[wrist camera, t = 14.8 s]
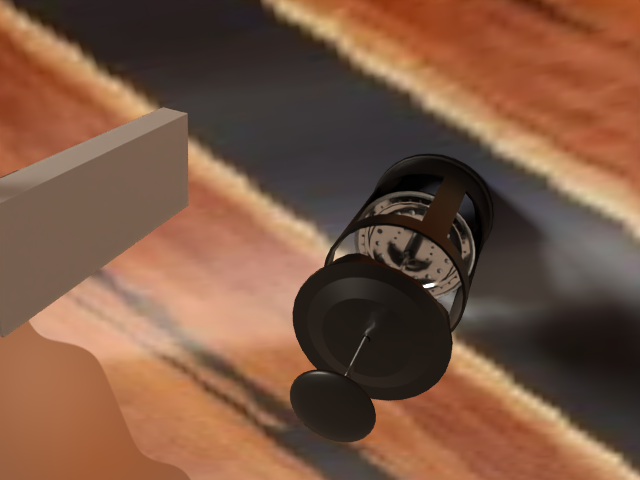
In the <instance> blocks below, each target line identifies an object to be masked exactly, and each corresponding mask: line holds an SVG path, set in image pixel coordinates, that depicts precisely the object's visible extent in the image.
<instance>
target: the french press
mask: <svg viewBox="0 0 640 480" xmlns="http://www.w3.org/2000/svg"><path fill="white" fill-rule="evenodd" d="M413 174H427V175H433V176H437V177H440V178H443V181H442V183H441V185H440V187H439V189H438V191H437V193H436V195H433V194H430V193H426V192H419V191H401V192H395V193H391V192H392V190H393V188H394V187H395V186H396V185H397V184H398V183H399V182H400V181H401V180H403V179H404V178H406V177H408V176H410V175H413ZM465 193H466V195H467V196H468V197H469V198H470V199H471V200H472V203H473V206H474V209H475V223H474V227H473V230H472V232H471V231H470V229H469V227H468V226H467V224H466V222H465V220H464V218H463V217H462V215H461V214H460V213H459V211H458V209H459V207H460V205H461V202H462V200H463V197H464V195H465ZM493 216H494V213H493V203H492V200H491V197H490V193H489V191H488V189H487V188H486V186H485V184H484V182H483V181H482V180H481V179H480V177H479V176H478V175H477V174H476V173H475V172H474V171H473V170H472V169H470V168H469V167H468V166H467V165H465V164H463V163H462V162H460V161H458V160H456V159H454V158H450V157H447V156H444V155H438V154H419V155H414V156H411V157H407V158H405V159H403V160H401V161H399V162H397V163H395V164H394V165H393V166H392V167H390V168H389V169H388V170H387V171H386V172H385V173H384V175H383V176H382V177H381V178H380V180H379V182H378V184H377V186H376V188H375V190H374V192H373V194H372V195H371V196H370V198H369V199H368V200H367V201H366V203H365V204H364V205H363V207H362V208H361V209H360V211H359V212H358V213H357V215H356V216H355V217H354V219H353V220H352V221H351V222H350V224H349V225H348V226H347V228H346V229H345V230H344V232H343V233H342V234H341V236H340V237H339V238H338V239H337V241H336V242H335V243H334V245H333V246H332V247H331V249H330V251H329V253H328V255H327V257H326V260H325V265H324V267H323V268H320V269H319V270H318V271H316V272H315V273H314V274H312V275H311V276H310V277H309V278H308V279H307V281H306V282H305V283H304V284H303V285H302V287H301V288H300V290H299V292H298V294H297V296H296V299H295V302H294V307H293V326H294V330H295V334H296V338H297V340H298V342H299V344H300V346H301V349H302V351H303V352H304V353H305V355H306V356H307V358H308V359H309V361H310V362H311V363H312V364H313V365H314V366H315V367H316V368H317V370H310V371H307V372H304V373H303V374H301V375H299V376H298V377H297V378H296V379H295V380H294V382H293V384H292V386H291V390H290V401H291V404H292V408H293V410H294V412H295V414H296V415H297V416H298V418H299V419H300V421H301V422H302V423H303V424H304V425H305V426H306V427H308V428H309V429H310V430H311V431H313V432H314V433H316V434H318V435H319V436H322V437H324V438H326V439H329V440H332V441H336V442H354V441H358V440H360V439H363V438H364V437H366V436H367V435H368V434H369V433H370V432H371V431H372V429H373V428H374V425H375V422H376V413H375V408H374V406H373V403H372V401H371V399H378V400H388V401H389V400H403V399H407V398H411V397H415V396H417V395H419V394H421V393H423V392H425V391H427V390H429V389H430V388H431V387H433V386H434V385H435V384H436V383H437V382H438V381H439V380H440V379H441V377H442V376H443V374H444V373H445V372H446V369H447V367H448V364H449V361H450V359H451V353H452V344H453V342H452V334H451V332H453V331H454V329H455V328H456V326H457V325H458V323H459V322H460V320H461V318H462V315H463V313H464V310H465V307H466V303H467V300H468V294H469V290H470V286H471V283H472V279H473V276H474V272H475V269H476V266H477V262H478V259H479V255H480V252H481V250H482V247H483V244H484V243H485V241H486V240H487V238H488V236H489V233H490V231H491V228H492V223H493ZM358 220H359V221H358ZM353 232H355V249H356V253H354V254H347V255H345V256H343V257H340V258H338V259H336V260H335V261H334V262H333V259H334V255H335V251H336V249H337V248H338V247H339V245H340V244H341V242H342V241H343V240H344V238H345V237H347V236H348V235H349V234H351V233H353ZM457 288H458V290H457V293H456V296H455V299H454V302H453V305H452V308H451V311H450V314H448V311H447V310H446V309H445V308H444V307H443V305H442V304H440V303H439V302H438V301H437V300H436V299H437V298H440V297H443V296H446V295H448V294H450V293H451V292H453V291H455V290H456V289H457ZM370 398H371V399H370Z"/></svg>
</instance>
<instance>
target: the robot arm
mask: <svg viewBox="0 0 640 480" xmlns="http://www.w3.org/2000/svg"><path fill="white" fill-rule="evenodd" d="M187 206H188V115H187V113H183V112H179V111H175V110H171V109H167V108H161V109H158V110H156V111H154V112H151V113H149V114H147V115H144V116H142V117H140V118H138V119H135V120H133V121H131V122H128V123H126V124H124V125H122V126H119V127H117V128H115V129H112V130H110V131H108V132H105V133H103V134H101V135H99V136H96V137H94V138H92V139H89V140H87V141H85V142H83V143H80V144H78V145H76V146H73V147H71V148H69V149H66V150H64V151H62V152H60V153H57V154H55V155H53V156H50V157H48V158H46V159H43V160H41V161H39V162H37V163H34V164H32V165H30V166H27V167H25V168H23V169H21V170H17V171H15V172H12V173H10V174H8V175H5V176H3V177H1V178H0V336H2V337H5V336H7V335H8V334H10V333H11V332H12V331H14V330H15V329H16V328H18V327H19V326H20V325H22V324H23V323H25V322H26V321H28V320H29V319H31V318H32V317H33V316H35V315H36V314H37V313H39V312H40V311H42V310H43V309H44V308H46V307H47V306H49V305H50V304H51V303H53V302H54V301H56V300H57V299H58V298H60V297H61V296H63V295H64V294H65V293H67V292H68V291H70V290H71V289H72V288H74V287H75V286H77V285H78V284H79V283H81V282H82V281H83V280H85V279H86V278H88V277H89V276H90V275H92V274H93V273H95V272H96V271H97V270H99V269H100V268H102V267H103V266H104V265H106V264H107V263H109V262H110V261H111V260H113V259H114V258H116V257H117V256H118V255H120V254H121V253H123V252H124V251H125V250H127V249H128V248H130V247H131V246H132V245H134V244H135V243H136V242H138V241H139V240H141V239H142V238H143V237H145V236H146V235H148V234H149V233H150V232H152V231H153V230H155V229H156V228H157V227H159V226H160V225H162V224H163V223H164V222H166V221H167V220H169V219H170V218H171V217H173V216H174V215H176V214H177V213H178V212H180V211H181V210H182V209H184V208H185V207H187Z"/></svg>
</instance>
